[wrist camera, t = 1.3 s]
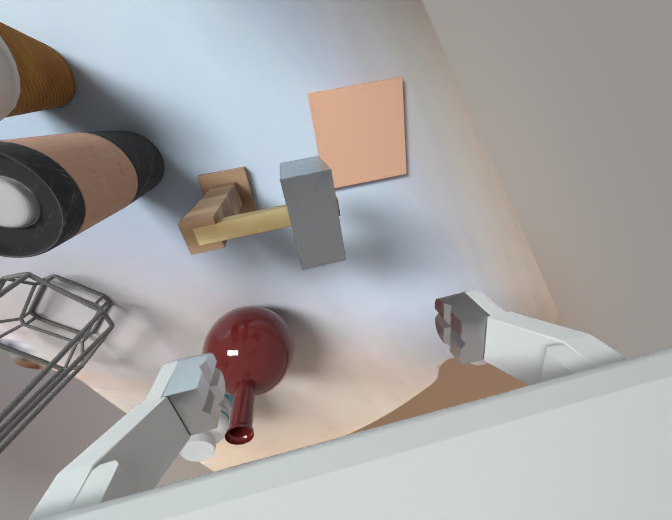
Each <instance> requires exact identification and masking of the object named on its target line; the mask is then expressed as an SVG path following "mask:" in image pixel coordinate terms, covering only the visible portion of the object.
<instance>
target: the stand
mask: <svg viewBox="0 0 672 520" xmlns="http://www.w3.org/2000/svg"><path fill="white" fill-rule="evenodd" d="M197 178H198V181H199V184H200V186H201V189H202V192H203V194H204V196H203V197H202V198H201V199H200V200H199V201H198V203H197V204H196V205H195V206H194V207H193V208H192V209H191V210H190V211H189V212H188V213H187V214H186V215H185V216H184V217H183V219H182V220H181V221H180V222H179V223H178V226H179V228H180V231H181V233H182V235H183V237H184V240H185V242H186V244H187V247H188V249H189V251H190V253H191V255H192V254H197V253H201V252H206V251H211V250H216V249H220V248H224V247H225V245H226V242H227V240H228V239H232V238H237V237H242V236H246V235H251V234H256V233H261V232H265V231H270V230H275V229H280V228H284V227H289V226H291V222H290V218H289V214H288V210H287V206H286V205H282V206H277V207H273V208H268V209H263V210H258V211H257V207H256V204H255V200H254V197H253V194H252V190H251V187H250V184H249V180H248V177H247V173H246V170H245V167H240V168H235V169H230V170H224V171H219V172H214V173H209V174H204V175H199V176H197ZM336 201H337V207H338V214H339V216H340V210H339V204H338V199H337V197H336Z"/></svg>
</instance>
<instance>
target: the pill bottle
mask: <svg viewBox="0 0 672 520" xmlns="http://www.w3.org/2000/svg"><path fill="white" fill-rule="evenodd" d="M232 400H233V397H231V396H229V395H226V394H225V395H224V399H223V400H222V401H221V402H220V404H219V406H220V408H221V414H220V418H219V423H218V427H217V428H216V429H213V430H209V431H206V432H202V433H199V434H196V435H192V436H190V437H191V438H190V439H189V440H188V442H187V443H186V445H185V446H184V447H183V449H182V450H181V451H180V455H181V456H182V457H183V458H184V459H186V460H189V461H202V460H206V459H208V458H210V457H211V456H212V455H213V454H214V452H215V447H216V443H218V442H219V441H221V440H222V439H223V438H224V436H225V433H226V431H227V429H228V426H229V419H230V413H231V406H232Z"/></svg>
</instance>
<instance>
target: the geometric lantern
mask: <svg viewBox="0 0 672 520" xmlns="http://www.w3.org/2000/svg"><path fill="white" fill-rule="evenodd" d="M53 277H54V278H57V279H59V280H61V281H64V282H66V283H69V284H71V285H74V286H76V287H79V288H81V289H84V290H86V291H89V292H91V293H94V294H96V295H99V296H101V297H100V298H99V299H98V300H97V301H96V302H95V303H93V302H91V301H89V300H86V299H84V298H81V297H79V296H77V295H74V294H72V293H70V292H68V291H66V290H64V289H62V288H60V287H58V286H56V285H54V284H52V283H50V282H49V281H50V280H51V279H52V278H53ZM15 278H18V279H15ZM27 278H31V279H33V280H35V281H37V282H36V283H34V282H29V281H24V280H26V279H27ZM6 281H13V283H11V284H10V285H8V286H7V287H5V288H4V289H2V288H3V286H4V284H5V282H6ZM20 283H24V284H29V285H33V286H32V288H31V291H30V293H29V296H28V298H27V300H26V303H25V305H24V308H23V310H22V313H21V315H20V317H19V318H13V319H7V320H0V323H5V322H11V321H18V320H20V322H21V324H20V325H18V326H16V327H14V328H13V329H11V330H9V331H7V332H5V333H3V334H1V335H0V338H2V337H4V336H5V335H7V334H9V333H11V332H13V331H15V330H17V329H18V328H20V327H22V326H25V327H28V328H31V329H34V330H37V331H40V332H43V333H46V334H49V335H52V336H55V337H58V338H61V339H64V340H67V341H70V342H69V343H68V344H67V345H66V347H65V348H64V349H63V350H62V351H61V352H60V353H59V354H58V355H57V356H56V357H55V358H54V359H53V360H52V361H51V362H49V361H46V360H44V359H41V358H38V357H36V356H33V355H30V354H28V353H25V352H23V351H20V350H17V349H15V348H12V347H9V346H7V345H4V344H1V343H0V348H1V349H4V350H7V351H9V352H12V353H15V354H17V355H20V356H23V357H25V358H28V359H31V360H33V361H36V362H39V363H41V364H44V365H47V366H46V367H45V368H44V369H43V370H42V371H41V372H40V373H39V374H38V375H37V376H36V377H35V378H34V379H33V381H32V382H31V383H30V384H29V385H28V386H27V387H26V388H25V389H24V390H23V391H22V392H21V393H20V394H19V395H18V396H17V397H16V398H15V399H14V400H13V401H12V402H11V403H10V404H9V405H8V407H6V408H5V409H4V410H3V412H2V413H1V414H0V423H1V422H2V421H3V419H4V418H6V416H7V415H8V414H9V413H10V412H11V411H12V410H13V409H14V408H15V407H16V406H17V405H18V404H19V402H21V401H22V400H23V398H24V397H25V396H26V395H27V394H28V393H29V392H30V391H31V390H32V389H33V388H34V387H35V386H36V385H37V384H38V382H39V381H40V380H41V379H42V378H43V377H44V376H45V375H46V374H47V373H48V372H49V371H50V370H51V369H52V368H55V369H57V370H58V371H57V372H56V373H55V374H54V375H53V376H52V377H51V378H50V379H49V380H48V381H47V382H46V383H45V384H44V385H43V386H42V387H41V388H40V389H39V390H38V391H37V392H36V393H35V394H34V395H33V396H32V397H31V398H30V399H29V400H27V401H26V402H25V404H23V405H22V406H21V407H20V408H19V409H18V410H17V411H16V412H15V413H14V414H13V415H12V416H11V417H10V418H9V419H8V420H7V421H6V422H5V423H4V424H3V425H2V426H1V427H0V433H1V432H2V431H3V430H4V431H3V432H2V433H1V434H0V443H1V442H2V441H3V439H4V438H5V437H6V436H7V435H8V434H9V433H10V432H11V431H12V430H13V429H14V428H15V427H16V426H17V425H18V424H19V423H20V422H21V421H22V420H23V419H24V418H25V417H26V416H27V415H28V414H29V413H30V412H31V411H32V410H33V409H34V408H35V407H36V406H37V405H38V404H39V403H40V402H41V401H42V400H43V399H44V398H45V397H46V396H47V395H48V394H49V393H50V392H51V391H52V390H53V389H54V388H55V387H56V386H57V385H58V384H59V383H60V382H61V381H62V380H63V379H64V378H65V377H66V376H67V375H68V374H69V373H70V372H71V371H72V370H75V371H74V372H73V373H72V374H71V375H70V376H69V377H68V378H67V379H66V380H65V381H64V382H63V383H62V384H61V385H60V386H59V387H58V388H57V389H56V390H55V391H54V392H53V393H52V394H51V395H50V396H49V397H48V398H47V399H46V400H45V401H44V402H43V403H42V404H41V405H40V406H39V407H38V408H37V409H36V410H35V411H34V412H33V413H32V414H31V415H30V416H29V417H28V418H27V419H26V420H25V422H23V424H21V426H20V427H19V428H18V429H17V430H16V431H15V432H14V433H13V434H12V435H11V436H10V437H9V438H8V439H7V440H6V441H5V442H4V443H3V444H2V445H1V446H0V453H1V452H2V451H3V450H4V449H5V448H6V447H7V446H8V445H9V444H10V443H11V442H12V441H13V440H14V439H15V438H16V437H17V436H18V435H19V433H21V431H22V430H23V429H24V428H25V427H26V426H27V425H28V424H29V423H30V422H31V421H32V420H33V419H34V418H35V417H36V416H37V415H38V414H39V413H40V412H41V411H42V410H43V409H44V407H45V406H46V405H47V404H48V403H49V402H50V401H51V400H52V399H53V398H54V397H55V396H56V395H57V394H58V393H59V392H60V391H61V390H62V389H63V388H64V387H65V386H66V385H67V383H68V382H69V381H70V380H71V379H72V378H73V377H74V376H75V375H76V374H77V373H78V372H79V371H80V370H81V369H82V368H83V367H84V366H85V364H86V363H87V362H88V360H89V359H90V358H91V357H92V355H93V354H94V353H95V351H96V350H97V349H98V347H99V346H100V345H101V344H102V342H103V341H104V340H105V338H106V337H107V336H108V334H109V333H110V332H111V331H112V329H113V328H114V323H113V321H112V320H111V318H110V317H109V316H108V314H107V313H106V310H107V308H108V307H109V305H110V303H111V301H110V300H109V299H108V298H107V297H106V296H105V295H103V294H101V293H98V292H96V291H93V290H91V289H88V288H86V287H84V286H81V285H79V284H76V283H74V282H71V281H69V280H66V279H64V278H61V277H59V276H57V275H54V274H53V275H50V276H47V277H45V278H43V279H42V278H40V277H38V276H36V275H34V274H32V273H30V272H23V273H17V274H12V275H7V276H3V277H1V278H0V297H2V296H3V295H5V294H6V293H7V292H9V291H10V290H12V289H13V288H14V287H16V286H17V285H19V284H20ZM37 285H40V287H39V289H38V291H37V293H36V295H35V297H34V300H33V302H32V304H31V306H30V308H29V310H28V312H27V313H26V314H25V312H26V310H27V307H28V305H29V303H30V300H31V298H32V295H33V293H34V291H35V288H36V286H37ZM44 285H45V286H47V287H49V288H51V289H53V290H55V291H57V292H59V293H61V294H63V295H65V296H67V297H69V298H71V299H73V300H75V301H77V302H79V303H81V304H83V305H85V306H87V307H89V308H91V309H93V310H96V311H97V313H96V315H95V316H94V317H93V319H92V320H91V321H90V322H89V323H88V324H87V325H86V326H85V327H84V328H83V329H82V330H81V331H77V330H74V329H71V328H68V327H66V326H63V325H60V324H57V323H54V322H51V321H48V320H46V319H43V318H40V317H37V316H36V315H35V314H34V313H33V312H32V309H33V307H34V305H35V303H36V301H37V299H38V297H39V295H40V293H41V291H42V288H43V286H44ZM1 289H2V290H1ZM103 298H104V299H105V300H106V301H107V302H108V303H107V302H105V303H104V304H103V305H102V306H101V307H100V306H99V305H98V303H99V302H100V301H101V300H102V299H103ZM104 307H105V308H104ZM103 308H104V309H103ZM29 314H31V315H32V316H33V318H32V319H31V320H29V321H28V322H27V323H25V321H24V320H23V318H25V317H26V316H28V315H29ZM102 317H104V318H105V320H106V321H107V323H108V324H109V327H108V328H107V329H106V330H105V331H104V332H103V333H102V334H101V335H100V336H99V337H98V338H97V339H96V340H95V341H94V342H93V343H92V344H91V345H90V346H89V347H88V348H87V349H86V350H85V351H84V342H85V341H86V340H87V339H88V337H89V336H90V335H91V334H92V333H94V331H95V329H96V328H97V326H98V324H99V322H100V321H101V319H102ZM35 319H37V320H40V321H43V322H46V323H49V324H52V325H55V326H57V327H60V328H63V329H66V330H69V331H72V332H75V333H78V334H77V335H76V336H75V337H74V338H73V339H69V338H66V337H64V336H61V335H58V334H55V333H52V332H49V331H46V330H43V329H40V328H37V327H34V326H31V325H28V324H30V323H31V322H32V321H34V320H35ZM96 321H97V322H96ZM95 322H96V324H95V326H94V327H93V329H92V331H90V330H91V328H92V326H93V325H94V323H95ZM82 338H83V339H82ZM81 339H82V341H80V340H81ZM78 343H81V355H80V356H79V357H78V358H77V359H76V360H75V361H74V362H73V363H72V364H71V365H70V366H69V367H67V366H68V364H69V362H70V360H71V358H72V355H73V353H74V351H75V349H76V347H77V344H78ZM73 345H74V346H73ZM72 347H73V348H72ZM71 348H72V351H71V353H70V355H69V357H68V359H67V361H66V363H65V366H64V367H62V366H59V365H57V364H56V363H57V362H58V361H59V360H60V359H61V358H62V357H63V356H64V355H65V354H66V353H67V352H68V351H69V350H70V349H71ZM85 357H86V358H85ZM84 358H85V359H84ZM80 362H81V364H80V365H78V364H79V363H80ZM77 365H78V366H77ZM63 371H64V372H63ZM62 372H63V373H62ZM61 373H62V374H61ZM60 374H61V375H60ZM59 375H60V376H59ZM58 376H59V377H58ZM57 377H58V378H57ZM56 378H57V379H56ZM55 379H56V380H55ZM54 380H55V381H54ZM53 381H54V382H53ZM52 382H53V383H52ZM51 383H52V384H51ZM50 384H51V385H50ZM49 385H50V386H49ZM39 395H40V396H39Z"/></svg>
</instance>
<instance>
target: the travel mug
mask: <svg viewBox="0 0 672 520" xmlns="http://www.w3.org/2000/svg"><path fill="white" fill-rule="evenodd" d="M163 173H164V163H163V159H162V157H161V154H160V153H159V151H158V150H157V148H156V147H155V146H154V145H153V144H152V143H151V142H150V141H149V140H147V139H146V138H144V137H143V136H141V135H139V134H136V133H133V132H128V131H103V132H76V133H65V134H56V135H46V136H37V137H28V138H18V139H9V140H0V256H3V257H12V258H23V257H32V256H36V255H40V254H42V253H45V252H47V251H49V250H51V249H53V248H55V247H57V246H58V245H60V244H62V243H64V242H65V241H67V240H69V239H71V238H72V237H74V236H76V235H78V234H79V233H81V232H83V231H85V230H86V229H88V228H90V227H92V226H93V225H95V224H97V223H99V222H100V221H102V220H104V219H105V218H107V217H109V216H111V215H112V214H114V213H116V212H118V211H119V210H121V209H123V208H125V207H126V206H128V205H129V204H131V203H132V202H134V201H135V200H136V199H138V198H139V197H141V196H142V195H144V194H145V193H147V192H148V191H149V190H151V189H152V188H154V187H155V186H156V185H157V184H158V183H159V182H160V180H161V179H162V177H163Z"/></svg>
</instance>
